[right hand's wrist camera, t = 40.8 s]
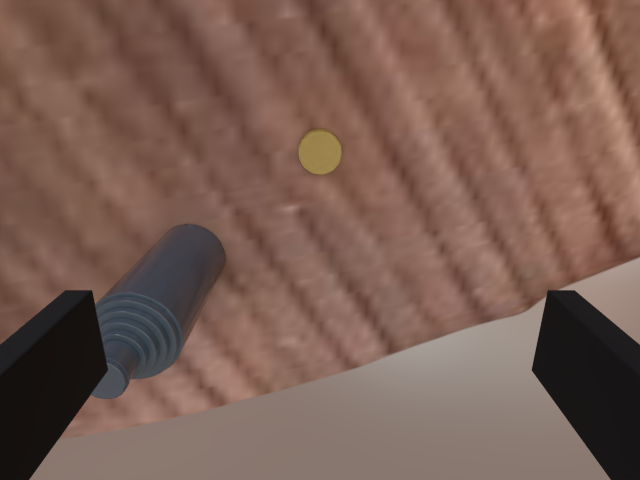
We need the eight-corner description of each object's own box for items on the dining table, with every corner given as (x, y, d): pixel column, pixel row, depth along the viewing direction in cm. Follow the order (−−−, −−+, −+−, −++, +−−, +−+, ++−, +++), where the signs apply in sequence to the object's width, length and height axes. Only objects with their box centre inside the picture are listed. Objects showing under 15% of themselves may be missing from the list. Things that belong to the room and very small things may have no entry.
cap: (334, 175, 46) (335, 179, 44) (294, 164, 46) (293, 168, 44) (345, 134, 45) (346, 137, 43) (304, 123, 44) (304, 125, 42)
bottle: (144, 257, 49) (22, 383, 29) (184, 210, 48) (83, 310, 27) (198, 297, 51) (118, 442, 31) (238, 253, 49) (181, 377, 29)
